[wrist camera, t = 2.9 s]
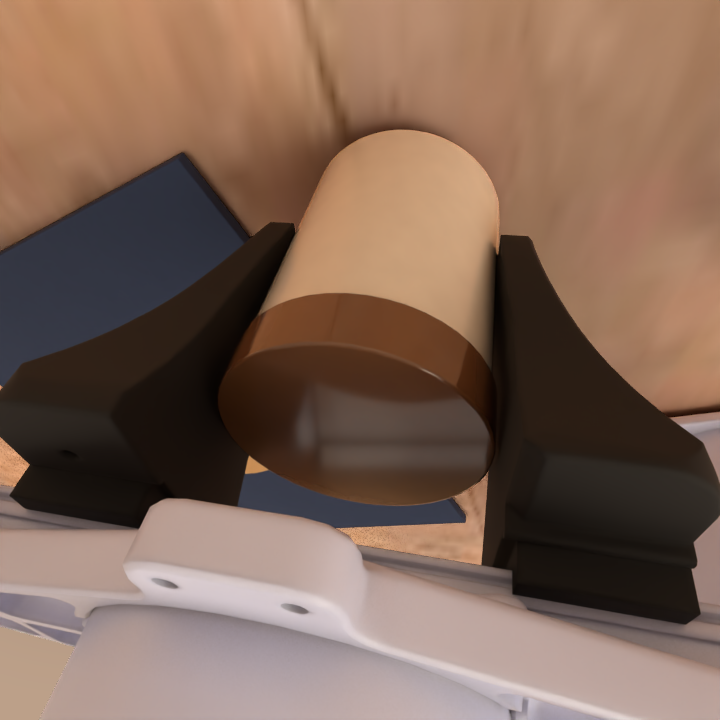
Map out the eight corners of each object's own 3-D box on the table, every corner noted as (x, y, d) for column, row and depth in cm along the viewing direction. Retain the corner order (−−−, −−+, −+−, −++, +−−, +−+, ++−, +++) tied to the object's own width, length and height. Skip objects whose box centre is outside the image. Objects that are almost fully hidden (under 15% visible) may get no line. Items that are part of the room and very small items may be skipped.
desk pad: (466, 515, 28) (465, 526, 27) (219, 527, 36) (216, 536, 36) (183, 151, 15) (174, 162, 14) (-100, 306, 23) (-110, 315, 23)
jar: (528, 263, 15) (532, 499, 10) (367, 307, 17) (312, 512, 13) (461, 85, 12) (422, 309, 7) (276, 171, 14) (157, 377, 9)
